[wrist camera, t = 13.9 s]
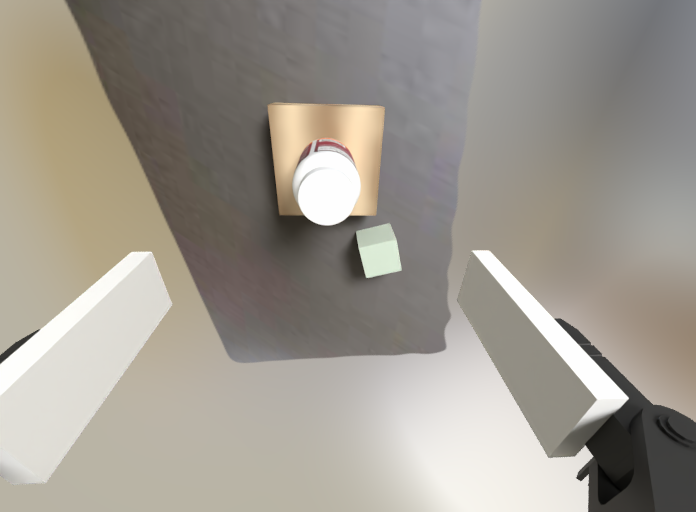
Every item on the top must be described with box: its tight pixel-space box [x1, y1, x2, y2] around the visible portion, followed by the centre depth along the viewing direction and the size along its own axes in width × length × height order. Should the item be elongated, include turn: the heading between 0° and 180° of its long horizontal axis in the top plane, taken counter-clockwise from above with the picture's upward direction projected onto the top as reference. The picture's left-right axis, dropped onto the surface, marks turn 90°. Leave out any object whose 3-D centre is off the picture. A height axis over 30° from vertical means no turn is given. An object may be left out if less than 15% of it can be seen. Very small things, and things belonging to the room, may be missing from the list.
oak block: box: [268, 103, 385, 215], centre depth 34 cm, size 12×12×4 cm
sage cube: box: [356, 223, 401, 278], centre depth 40 cm, size 5×5×5 cm
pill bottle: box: [292, 138, 361, 225], centre depth 27 cm, size 6×6×11 cm
